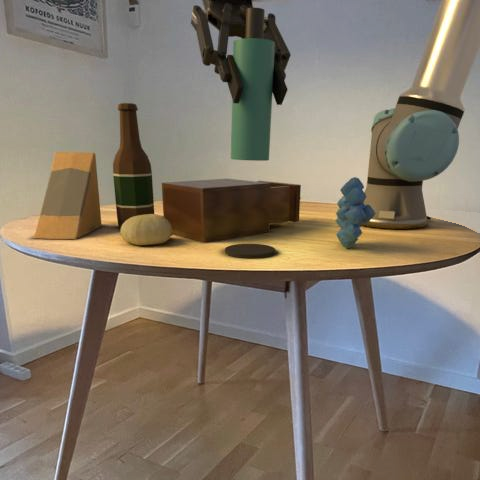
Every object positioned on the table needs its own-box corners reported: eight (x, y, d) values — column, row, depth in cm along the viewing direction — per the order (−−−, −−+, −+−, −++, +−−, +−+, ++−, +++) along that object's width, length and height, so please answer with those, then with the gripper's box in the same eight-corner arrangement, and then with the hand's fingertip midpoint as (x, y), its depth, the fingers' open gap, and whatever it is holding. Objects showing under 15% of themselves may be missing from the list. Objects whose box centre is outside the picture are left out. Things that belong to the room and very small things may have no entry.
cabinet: (227, 222, 105) (227, 178, 102) (269, 231, 96) (270, 183, 92) (164, 231, 95) (161, 182, 92) (204, 242, 85) (202, 188, 82)
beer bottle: (162, 225, 101) (155, 104, 92) (138, 231, 95) (128, 101, 86) (135, 222, 105) (126, 105, 96) (110, 228, 98) (98, 102, 90)
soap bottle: (251, 158, 77) (256, 16, 70) (276, 160, 73) (285, 10, 66) (222, 158, 73) (225, 9, 66) (248, 160, 69) (254, 1, 62)
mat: (251, 244, 84) (251, 241, 84) (285, 253, 78) (285, 249, 78) (214, 251, 79) (214, 248, 78) (247, 260, 73) (247, 257, 73)
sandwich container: (31, 238, 88) (18, 154, 82) (64, 224, 102) (54, 151, 97) (76, 239, 87) (65, 154, 82) (102, 225, 102) (95, 152, 96)
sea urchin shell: (107, 231, 85) (133, 196, 86) (137, 256, 90) (160, 224, 91) (131, 238, 78) (158, 201, 80) (162, 266, 84) (187, 230, 85)
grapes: (380, 256, 76) (389, 179, 72) (338, 255, 76) (345, 179, 72) (364, 241, 87) (371, 174, 83) (328, 240, 87) (333, 173, 83)
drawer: (273, 213, 113) (273, 179, 110) (312, 219, 104) (314, 183, 101) (207, 222, 101) (206, 184, 98) (245, 230, 92) (245, 189, 89)
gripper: (270, 19, 82) (309, 118, 74) (162, 9, 76) (192, 115, 67) (285, -26, 75) (329, 77, 67) (168, -42, 69) (201, 69, 61)
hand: (260, 96), depth 67 cm, fingers closed on soap bottle, 6 cm apart
